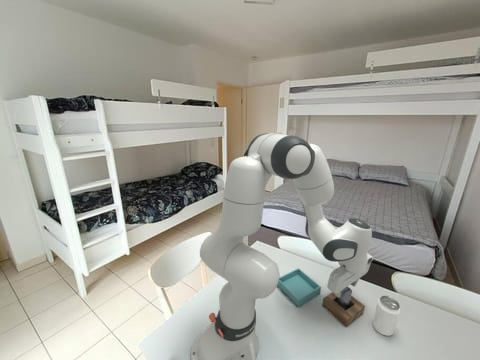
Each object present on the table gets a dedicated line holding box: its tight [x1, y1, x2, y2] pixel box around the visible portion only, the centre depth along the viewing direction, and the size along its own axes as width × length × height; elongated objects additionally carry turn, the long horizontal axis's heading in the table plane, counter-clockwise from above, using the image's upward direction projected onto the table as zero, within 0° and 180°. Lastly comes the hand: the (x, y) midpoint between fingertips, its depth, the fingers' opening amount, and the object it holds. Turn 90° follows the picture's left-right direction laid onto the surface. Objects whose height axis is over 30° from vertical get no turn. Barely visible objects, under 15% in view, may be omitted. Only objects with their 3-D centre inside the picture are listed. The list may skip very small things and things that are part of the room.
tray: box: [276, 267, 322, 309], centre depth 93 cm, size 13×13×4 cm
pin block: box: [321, 291, 366, 328], centre depth 84 cm, size 11×11×4 cm
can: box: [371, 295, 401, 337], centre depth 76 cm, size 6×6×12 cm
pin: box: [337, 286, 353, 311], centre depth 83 cm, size 4×4×10 cm
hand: (345, 290), depth 82 cm, fingers open, 8 cm apart
